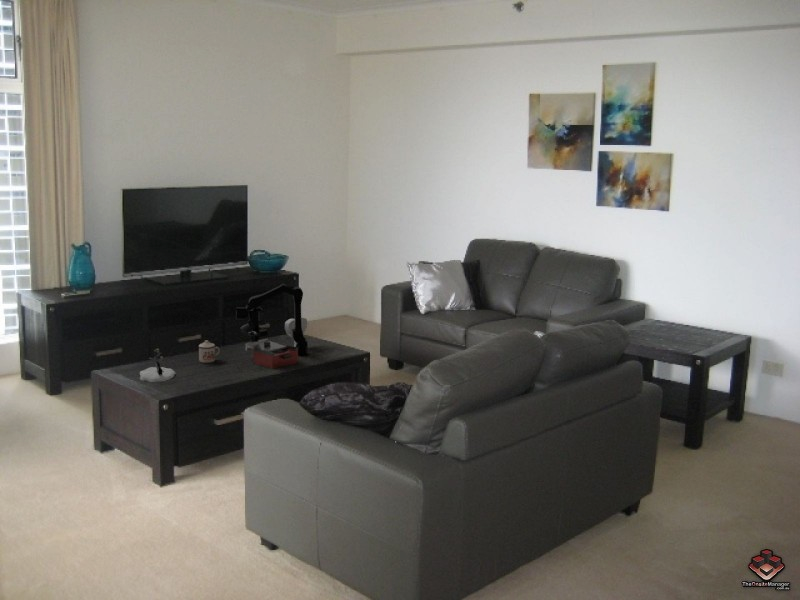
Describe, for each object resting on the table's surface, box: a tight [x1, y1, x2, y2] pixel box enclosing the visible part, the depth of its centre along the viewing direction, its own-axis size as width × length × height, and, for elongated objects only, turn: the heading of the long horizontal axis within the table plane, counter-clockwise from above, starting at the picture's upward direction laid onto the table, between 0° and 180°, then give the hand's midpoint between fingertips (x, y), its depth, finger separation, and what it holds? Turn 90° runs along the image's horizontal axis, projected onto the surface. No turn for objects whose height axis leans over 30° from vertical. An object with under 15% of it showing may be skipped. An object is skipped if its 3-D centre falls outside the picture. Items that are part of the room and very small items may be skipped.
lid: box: [245, 338, 287, 352], centre depth 493 cm, size 16×18×5 cm
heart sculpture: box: [284, 317, 308, 347], centre depth 520 cm, size 16×5×18 cm, turn 142°
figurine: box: [139, 348, 177, 383], centre depth 456 cm, size 20×18×16 cm
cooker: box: [253, 342, 299, 370], centre depth 488 cm, size 19×18×9 cm
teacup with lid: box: [198, 340, 221, 364], centre depth 489 cm, size 12×9×12 cm
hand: (254, 345), depth 500 cm, fingers closed
